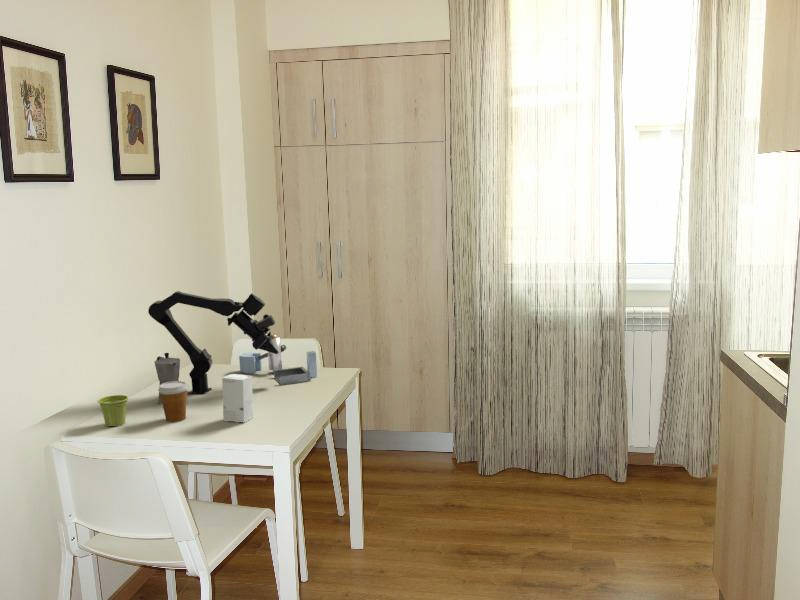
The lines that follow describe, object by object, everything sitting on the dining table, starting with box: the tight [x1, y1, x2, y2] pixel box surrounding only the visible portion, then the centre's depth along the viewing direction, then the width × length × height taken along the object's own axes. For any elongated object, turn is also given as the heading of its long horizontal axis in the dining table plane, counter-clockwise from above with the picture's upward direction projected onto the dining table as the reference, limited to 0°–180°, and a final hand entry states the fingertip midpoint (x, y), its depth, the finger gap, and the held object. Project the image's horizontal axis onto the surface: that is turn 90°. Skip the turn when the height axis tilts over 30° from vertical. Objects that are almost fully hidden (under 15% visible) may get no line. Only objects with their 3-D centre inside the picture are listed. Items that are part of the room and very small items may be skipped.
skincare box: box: [222, 373, 254, 424], centre depth 240 cm, size 8×6×15 cm
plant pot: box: [97, 394, 129, 427], centre depth 241 cm, size 9×9×9 cm
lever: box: [255, 344, 287, 361], centre depth 301 cm, size 4×14×2 cm, turn 77°
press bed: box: [273, 350, 318, 386], centre depth 290 cm, size 16×12×10 cm
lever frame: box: [238, 352, 283, 375], centre depth 303 cm, size 7×17×7 cm, turn 77°
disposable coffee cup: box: [157, 380, 189, 423], centre depth 244 cm, size 10×10×12 cm
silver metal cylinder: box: [267, 334, 283, 371], centre depth 278 cm, size 5×5×13 cm
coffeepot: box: [154, 352, 181, 405], centre depth 266 cm, size 15×9×18 cm, turn 41°
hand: (278, 351), depth 278 cm, fingers closed on silver metal cylinder, 5 cm apart
